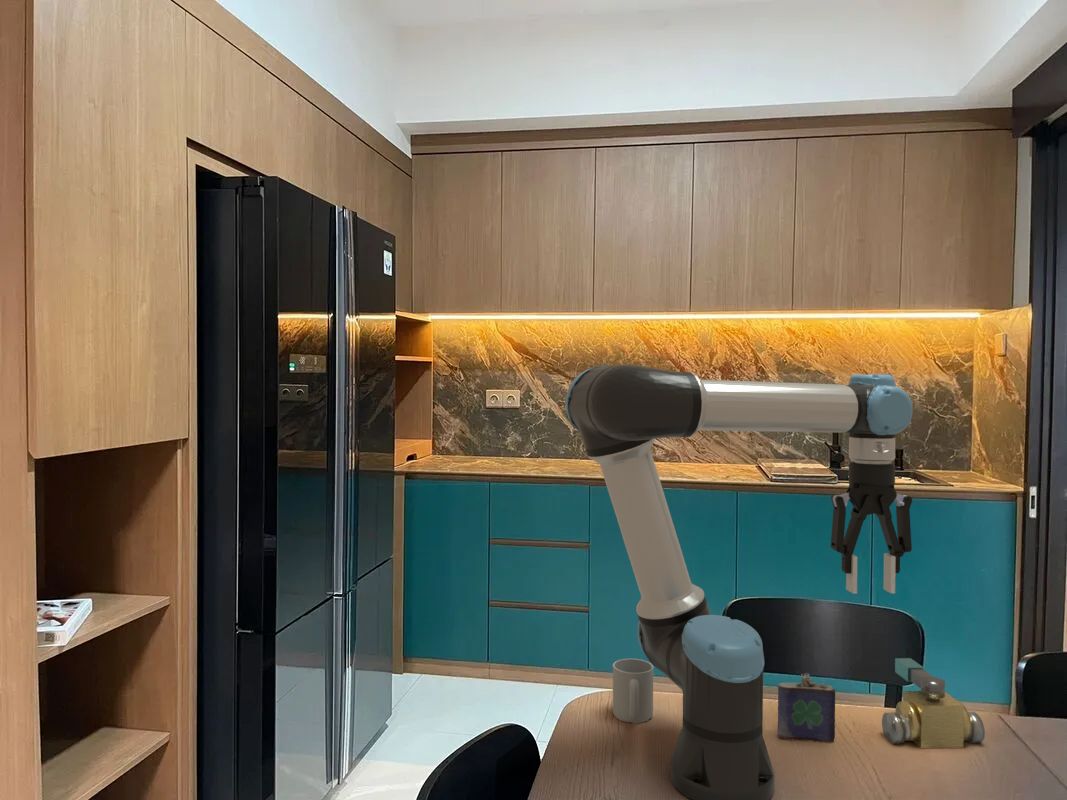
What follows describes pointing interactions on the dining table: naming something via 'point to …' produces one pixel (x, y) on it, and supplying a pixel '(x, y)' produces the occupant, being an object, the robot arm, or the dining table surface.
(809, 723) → the flask
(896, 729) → the pipe valve
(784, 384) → the robot arm
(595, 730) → the dining table surface
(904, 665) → the lever
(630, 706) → the cup
